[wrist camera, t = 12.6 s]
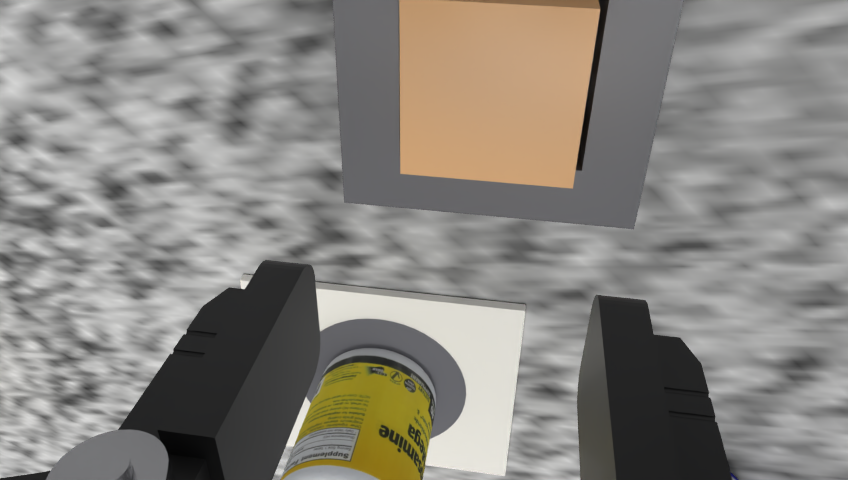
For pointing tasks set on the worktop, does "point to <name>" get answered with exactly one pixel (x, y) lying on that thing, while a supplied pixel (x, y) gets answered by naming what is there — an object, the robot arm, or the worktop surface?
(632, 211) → the button housing
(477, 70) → the button
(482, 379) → the white square coaster
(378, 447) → the pill bottle
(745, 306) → the worktop surface
